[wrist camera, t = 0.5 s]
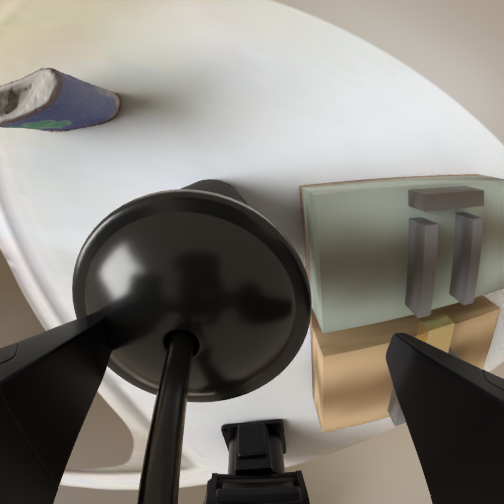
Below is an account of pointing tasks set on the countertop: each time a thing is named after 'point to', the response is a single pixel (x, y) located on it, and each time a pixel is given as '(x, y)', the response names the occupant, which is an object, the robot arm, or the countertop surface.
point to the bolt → (436, 331)
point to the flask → (55, 102)
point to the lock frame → (396, 280)
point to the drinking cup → (191, 307)
